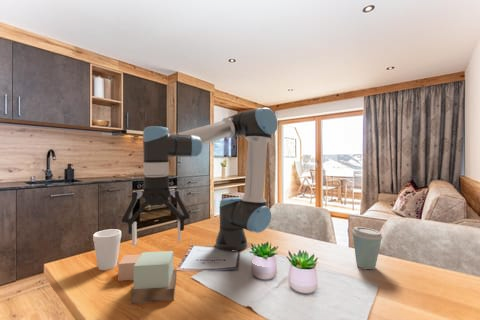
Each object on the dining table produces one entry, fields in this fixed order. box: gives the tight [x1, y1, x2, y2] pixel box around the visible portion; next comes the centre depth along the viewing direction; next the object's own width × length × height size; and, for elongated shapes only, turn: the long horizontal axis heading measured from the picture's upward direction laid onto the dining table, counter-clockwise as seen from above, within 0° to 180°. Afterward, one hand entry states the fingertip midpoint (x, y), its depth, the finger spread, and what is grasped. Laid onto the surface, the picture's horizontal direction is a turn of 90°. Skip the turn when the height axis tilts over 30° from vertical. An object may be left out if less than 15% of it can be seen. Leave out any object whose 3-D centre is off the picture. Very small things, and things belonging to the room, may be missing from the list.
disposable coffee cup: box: [351, 226, 383, 270], centre depth 94 cm, size 11×11×15 cm
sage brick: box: [133, 250, 174, 289], centre depth 76 cm, size 10×10×7 cm
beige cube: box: [117, 253, 142, 282], centre depth 86 cm, size 7×7×6 cm
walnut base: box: [130, 269, 177, 306], centre depth 76 cm, size 12×12×4 cm
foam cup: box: [92, 228, 122, 271], centre depth 92 cm, size 10×9×13 cm
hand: (157, 242), depth 76 cm, fingers open, 13 cm apart
